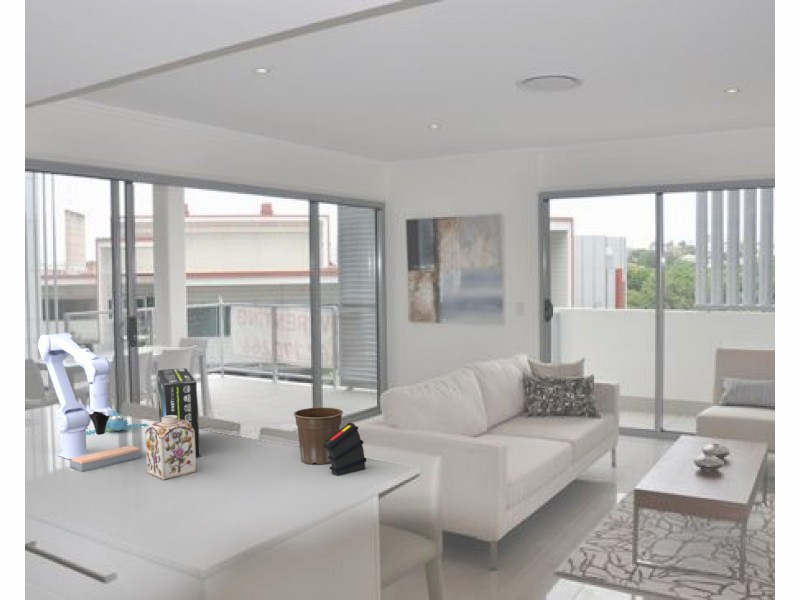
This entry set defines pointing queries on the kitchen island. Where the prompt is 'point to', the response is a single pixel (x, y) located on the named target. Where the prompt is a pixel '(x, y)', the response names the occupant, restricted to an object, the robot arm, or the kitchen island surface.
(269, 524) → the kitchen island surface
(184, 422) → the decorative jar
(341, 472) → the magazine
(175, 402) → the router box
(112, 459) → the cable duct
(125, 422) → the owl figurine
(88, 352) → the robot arm
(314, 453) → the plant pot
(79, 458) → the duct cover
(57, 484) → the kitchen island surface
